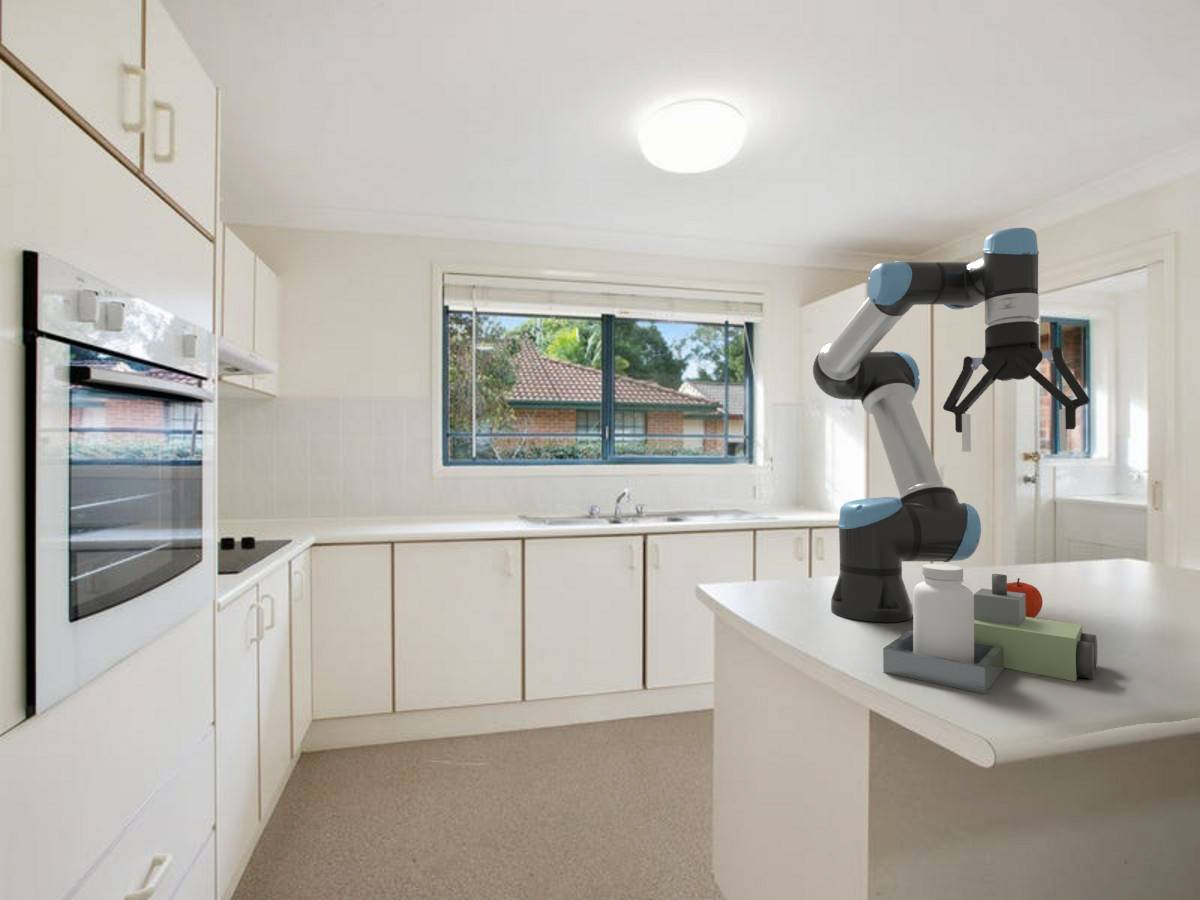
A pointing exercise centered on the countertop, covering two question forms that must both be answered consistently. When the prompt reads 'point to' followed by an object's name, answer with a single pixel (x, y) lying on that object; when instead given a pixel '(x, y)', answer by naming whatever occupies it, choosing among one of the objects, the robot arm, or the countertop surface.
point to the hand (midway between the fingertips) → (1013, 451)
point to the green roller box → (1031, 636)
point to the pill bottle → (943, 614)
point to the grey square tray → (945, 665)
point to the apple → (1028, 597)
